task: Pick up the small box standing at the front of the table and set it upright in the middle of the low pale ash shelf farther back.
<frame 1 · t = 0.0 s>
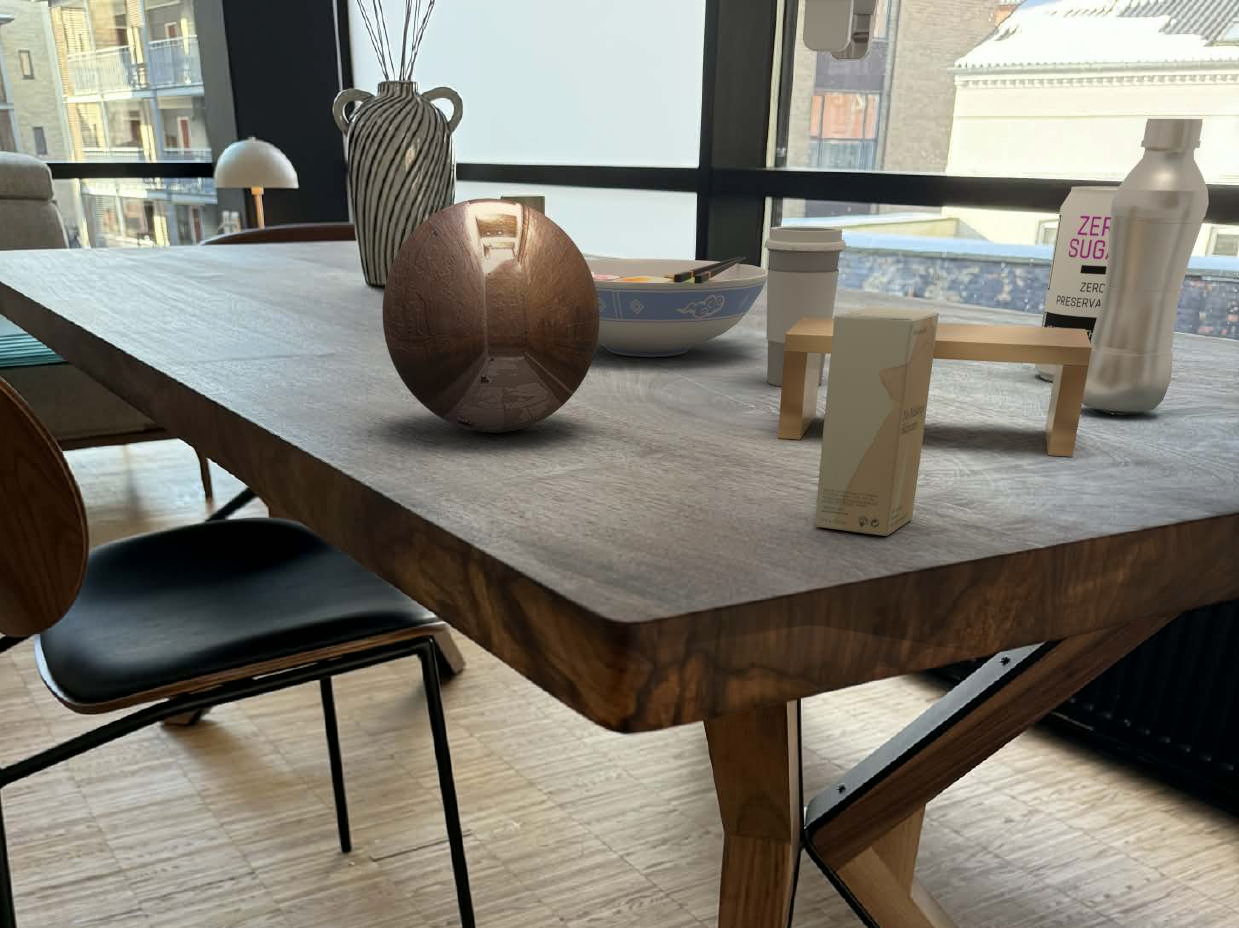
hand: (838, 56, 59), 22 cm above the table, tool pointing down, fingers open, 8 cm apart
ramen bowl: (647, 354, 130), on the table
plastic bottle: (1117, 415, 105), on the table
supplement can: (1081, 381, 119), on the table
shelf: (924, 434, 97), on the table
cup: (794, 385, 116), on the table
copper ball: (494, 433, 97), on the table
box: (863, 526, 76), on the table
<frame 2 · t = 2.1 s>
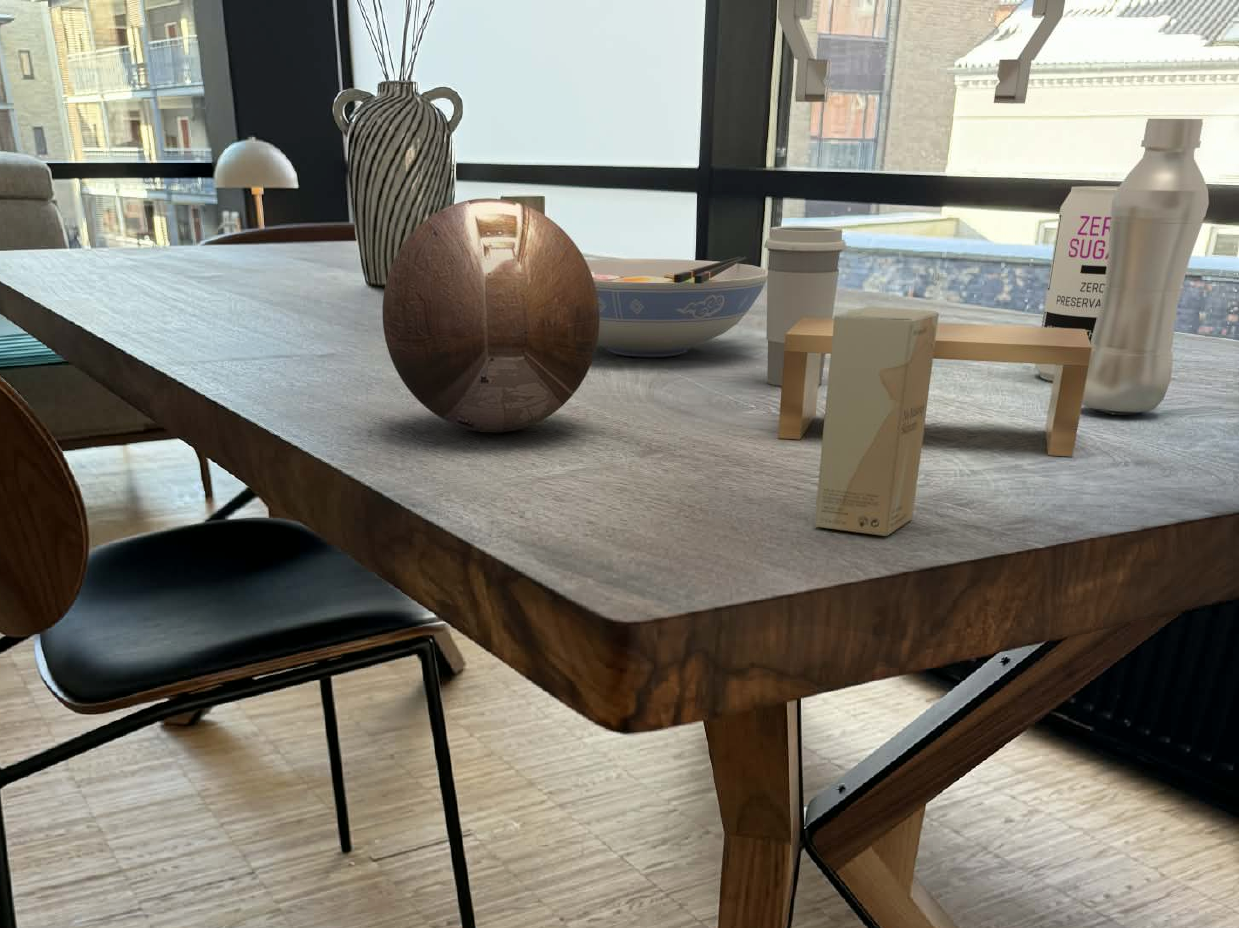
hand: (908, 102, 65), 21 cm above the table, tool pointing down, fingers open, 8 cm apart
nothing on the table moved.
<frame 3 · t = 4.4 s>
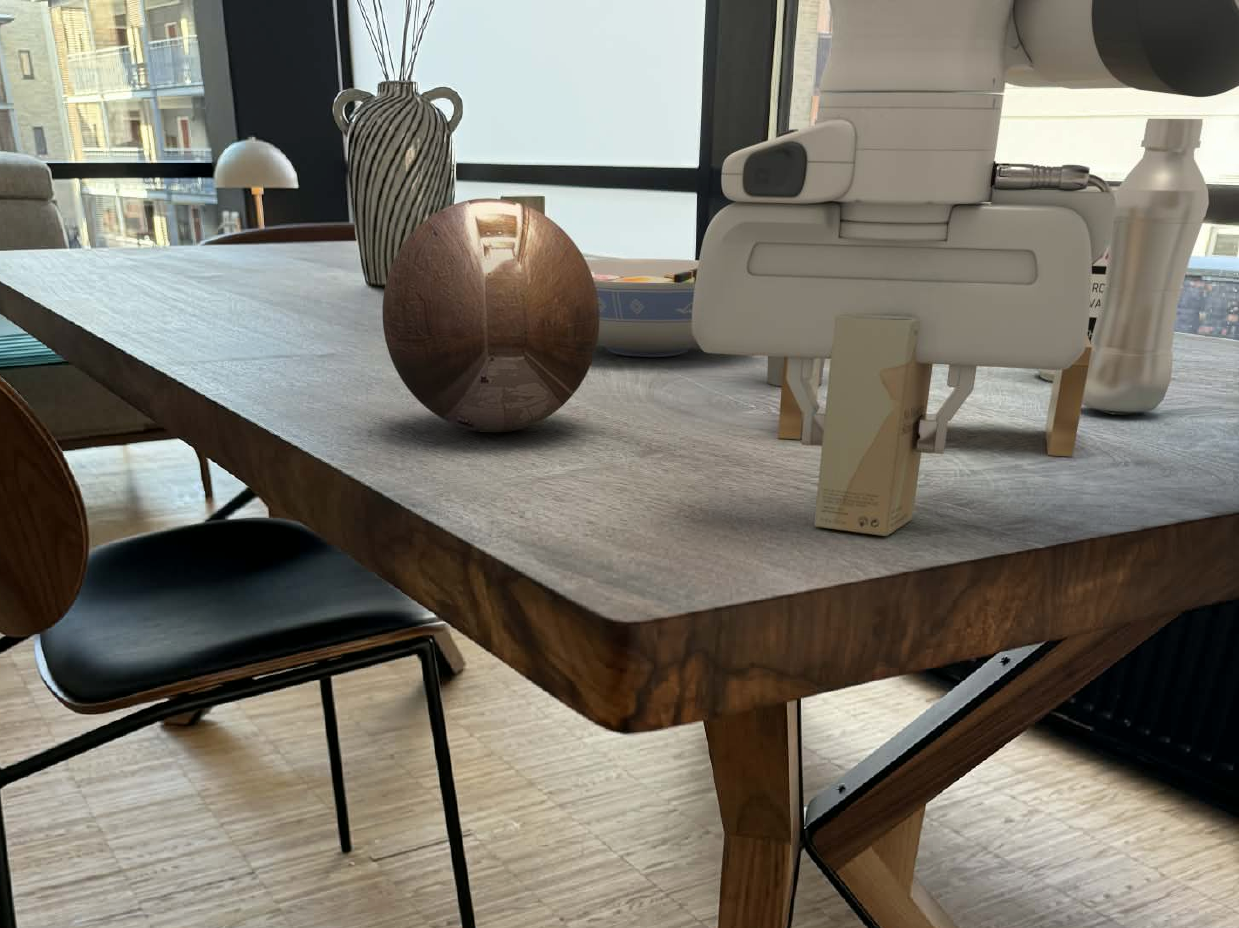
hand: (871, 447, 74), 4 cm above the table, tool pointing down, fingers closed on box, 5 cm apart
box: (863, 526, 76), on the table, touching gripper
everything else where it was.
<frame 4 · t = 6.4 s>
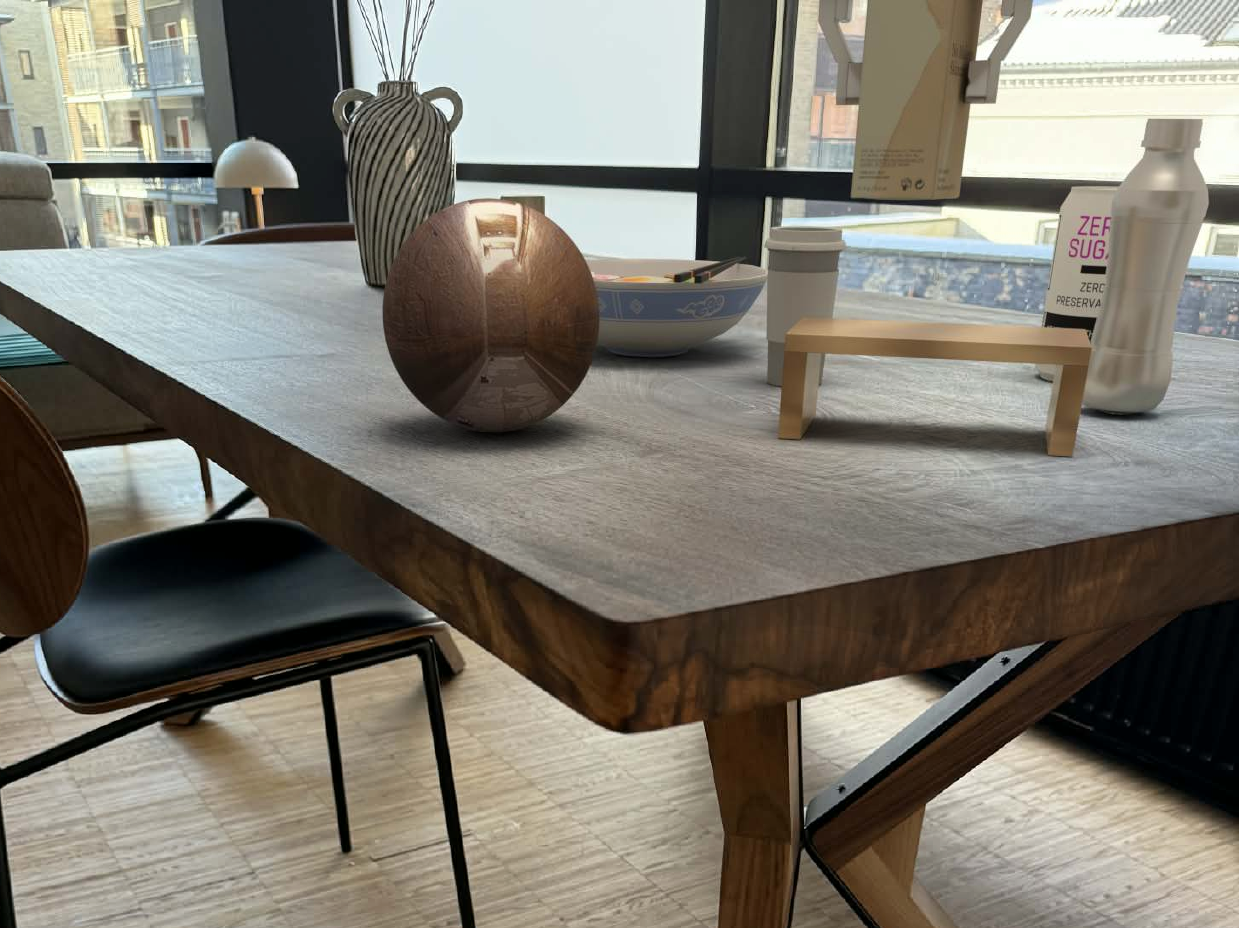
hand: (914, 104, 66), 20 cm above the table, tool pointing down, fingers closed on box, 5 cm apart
box: (905, 203, 68), point 16 cm above the table, touching gripper
everything else where it was.
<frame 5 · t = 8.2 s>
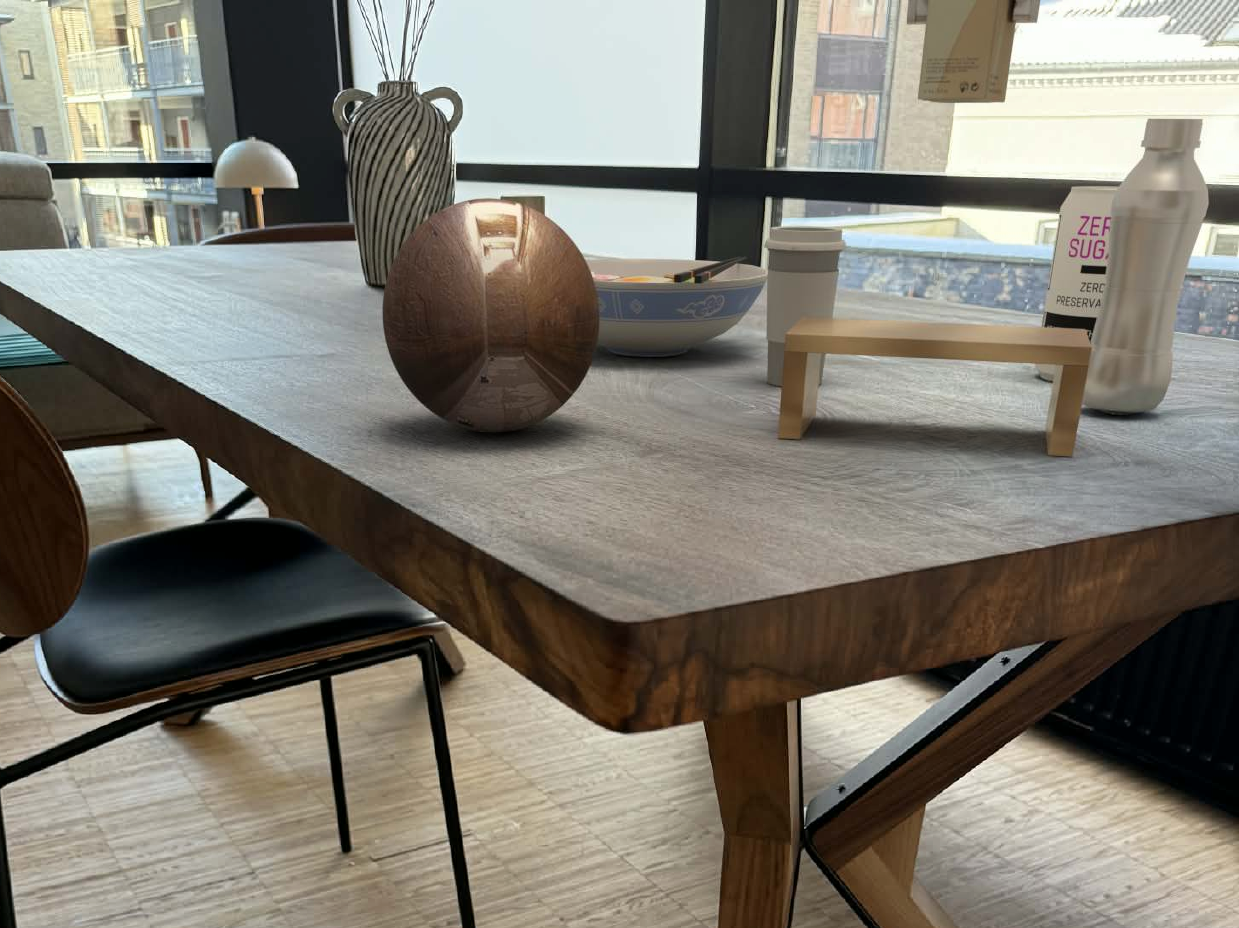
hand: (970, 23, 81), 25 cm above the table, tool pointing down, fingers closed on box, 5 cm apart
box: (960, 106, 83), point 21 cm above the table, touching gripper
everything else where it was.
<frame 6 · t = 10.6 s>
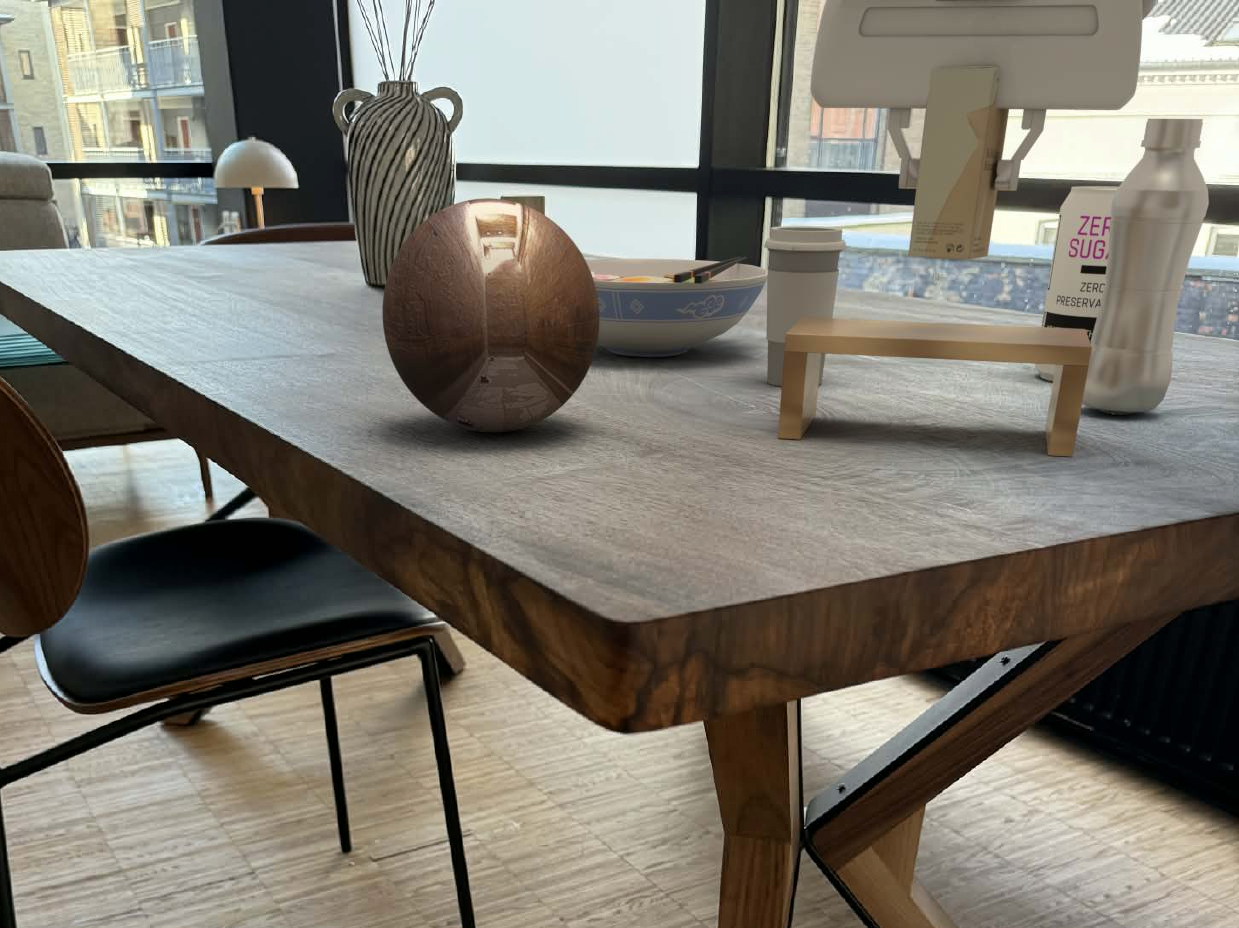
hand: (956, 189, 89), 16 cm above the table, tool pointing down, fingers closed on box, 5 cm apart
box: (947, 260, 91), point 11 cm above the table, touching gripper
everything else where it was.
when the fingers open (11 cm above the table, at t = 12.2 s): box stays where it is, resting on shelf.
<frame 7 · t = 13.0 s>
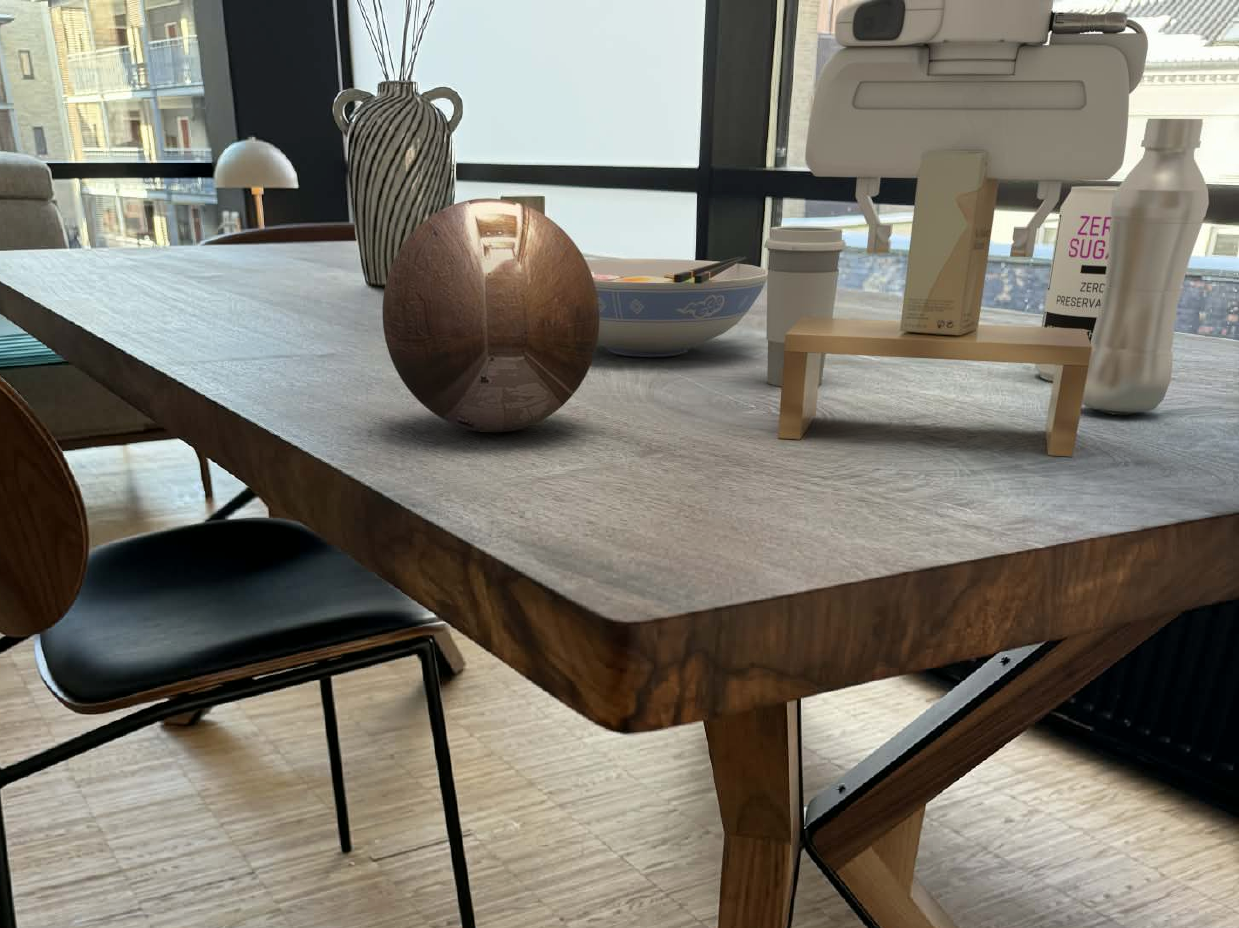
hand: (948, 254, 91), 12 cm above the table, tool pointing down, fingers open, 8 cm apart
box: (938, 333, 94), point 7 cm above the table, touching shelf
everything else where it was.
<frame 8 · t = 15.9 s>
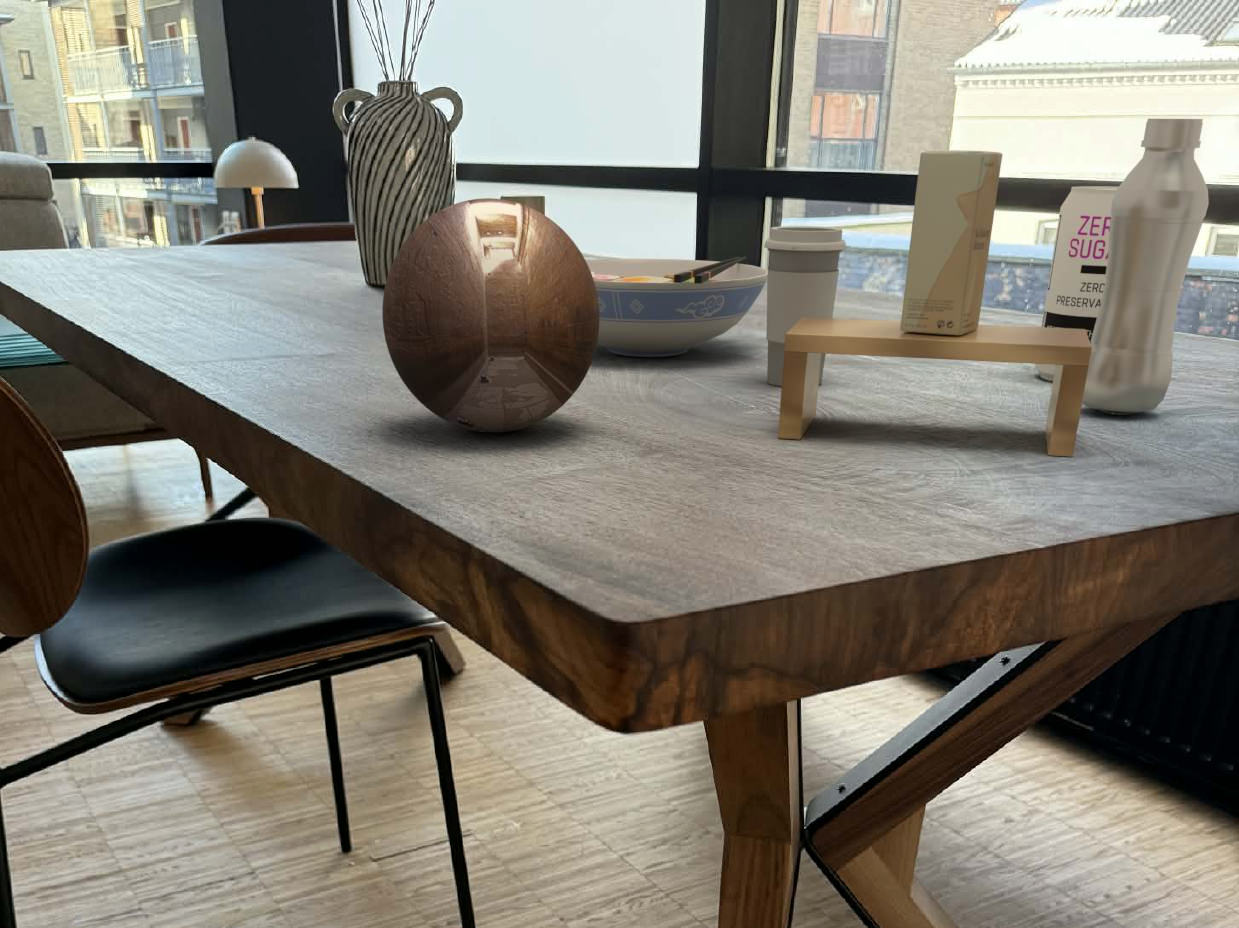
nothing on the table moved.
at the end: box 0.1 cm off-centre on the shelf, point 6.8 cm above the shelf's base; box tilted 0°; the gripper is holding nothing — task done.
